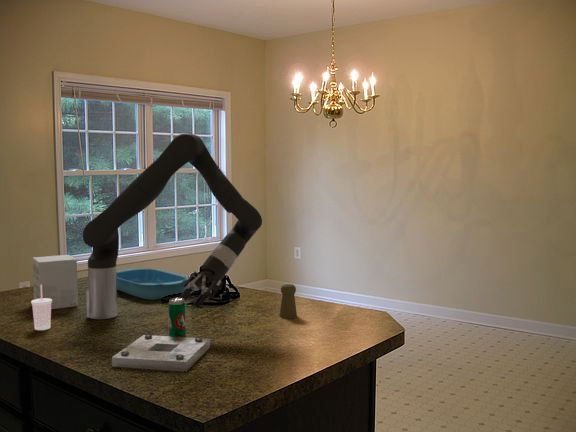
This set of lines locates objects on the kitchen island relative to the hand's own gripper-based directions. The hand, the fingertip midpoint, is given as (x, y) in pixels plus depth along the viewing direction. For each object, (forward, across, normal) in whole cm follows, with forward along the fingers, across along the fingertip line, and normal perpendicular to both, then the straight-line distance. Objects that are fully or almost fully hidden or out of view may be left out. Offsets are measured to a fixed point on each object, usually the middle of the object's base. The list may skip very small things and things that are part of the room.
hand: (188, 303), depth 178 cm
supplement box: (+19, -66, -5) cm, 69 cm away
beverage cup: (+29, -37, -15) cm, 49 cm away
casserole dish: (-6, -64, +21) cm, 68 cm away
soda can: (+10, 0, +5) cm, 11 cm away
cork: (-20, +1, +35) cm, 40 cm away
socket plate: (+18, +12, -3) cm, 21 cm away
